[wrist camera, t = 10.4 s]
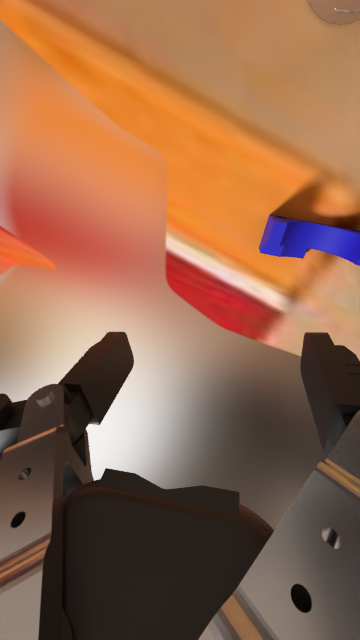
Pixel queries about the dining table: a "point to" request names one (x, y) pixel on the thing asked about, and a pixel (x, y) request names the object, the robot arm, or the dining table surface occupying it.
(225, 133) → the dining table surface
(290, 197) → the dining table surface
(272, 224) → the cable clip
